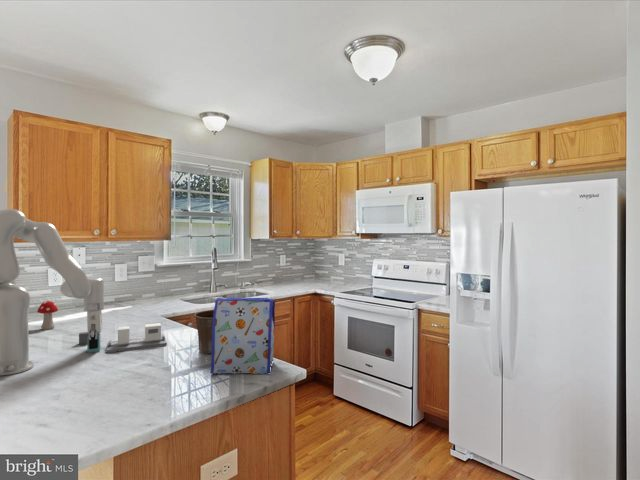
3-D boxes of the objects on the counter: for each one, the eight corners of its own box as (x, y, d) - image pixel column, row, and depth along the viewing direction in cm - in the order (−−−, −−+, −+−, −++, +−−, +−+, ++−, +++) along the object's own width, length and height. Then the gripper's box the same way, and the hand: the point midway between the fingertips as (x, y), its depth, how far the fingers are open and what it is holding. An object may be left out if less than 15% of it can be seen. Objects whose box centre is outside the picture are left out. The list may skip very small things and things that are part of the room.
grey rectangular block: (89, 343, 171) (89, 333, 171) (79, 345, 169) (78, 334, 169) (89, 342, 174) (89, 331, 174) (79, 343, 172) (79, 332, 172)
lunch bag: (276, 360, 148) (276, 293, 148) (273, 375, 131) (273, 301, 131) (219, 361, 147) (219, 294, 147) (209, 377, 130) (208, 301, 130)
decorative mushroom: (33, 329, 197) (33, 301, 197) (49, 326, 205) (49, 299, 205) (46, 331, 194) (46, 303, 193) (62, 327, 202) (62, 300, 202)
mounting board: (166, 345, 168) (166, 342, 168) (106, 353, 157) (106, 350, 157) (164, 338, 181) (164, 335, 181) (108, 344, 170) (108, 341, 170)
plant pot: (240, 348, 164) (240, 312, 164) (213, 358, 150) (213, 319, 150) (214, 342, 172) (214, 308, 172) (186, 352, 158) (186, 314, 158)
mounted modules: (161, 339, 171) (160, 325, 171) (117, 344, 163) (117, 330, 163) (160, 336, 176) (160, 323, 176) (118, 341, 168) (118, 327, 168)
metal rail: (164, 340, 172) (164, 336, 172) (108, 346, 162) (108, 342, 162) (164, 338, 176) (164, 334, 176) (108, 344, 165) (108, 340, 165)
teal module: (99, 351, 160) (99, 335, 160) (87, 352, 158) (87, 337, 158) (100, 348, 165) (100, 332, 165) (88, 349, 163) (88, 334, 162)
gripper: (102, 309, 155) (102, 349, 155) (105, 302, 170) (105, 339, 171) (81, 311, 152) (81, 352, 152) (86, 304, 167) (86, 341, 167)
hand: (94, 345), depth 161 cm, fingers open, 8 cm apart
